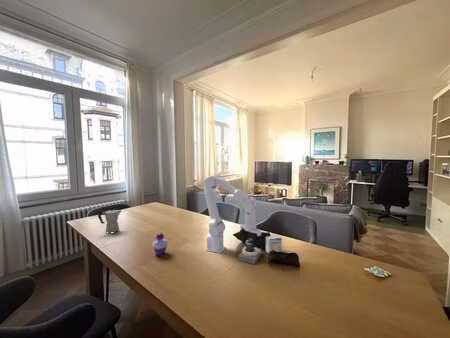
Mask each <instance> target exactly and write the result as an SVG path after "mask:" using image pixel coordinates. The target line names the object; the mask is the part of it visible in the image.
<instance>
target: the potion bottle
mask: <svg viewBox="0 0 450 338" xmlns="http://www.w3.org/2000/svg"><path fill="white" fill-rule="evenodd" d="M155 239H156V240H154V241H153V242H152V243H151V244H152V248H153V249H154V253H155V254H154V255H155V256H156V255H157V256H156V257H163V256H165V255H166V251H167V247H168V243H169V241H168V240H167V239H165V234H164V233H163V232H158V233H156V236H155ZM164 254H165V255H164ZM162 255H163V256H162Z"/></svg>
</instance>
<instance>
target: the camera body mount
mask: <svg viewBox="0 0 450 338" xmlns="http://www.w3.org/2000/svg"><path fill="white" fill-rule="evenodd" d="M261 255H262V248H258V247H255V248H254V252H246V246H244V247H243V248H242V250H241V252H240V253H239V254H238V257H237V258H238V262H241V263H242V262H243V263H248V264H253V265H256V263H257V261H258V260H259V258H260V256H261Z"/></svg>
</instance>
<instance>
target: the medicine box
mask: <svg viewBox="0 0 450 338" xmlns="http://www.w3.org/2000/svg"><path fill="white" fill-rule="evenodd" d="M282 243H283V240H282V237H281V236H280V235H272V236H271V235H270V236H265V252H266V253H268V254H269V252H270V251H272V250H274V251H278V252H281V253H282V246H283V244H282Z"/></svg>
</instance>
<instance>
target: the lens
mask: <svg viewBox="0 0 450 338" xmlns="http://www.w3.org/2000/svg"><path fill="white" fill-rule="evenodd" d="M245 247H246V252H254V247H253V240H252V237H251V238H250V237H249V238H248V239H246V243H245Z"/></svg>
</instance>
